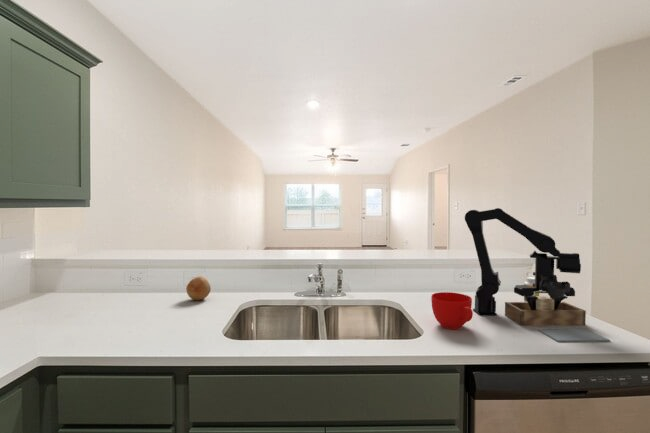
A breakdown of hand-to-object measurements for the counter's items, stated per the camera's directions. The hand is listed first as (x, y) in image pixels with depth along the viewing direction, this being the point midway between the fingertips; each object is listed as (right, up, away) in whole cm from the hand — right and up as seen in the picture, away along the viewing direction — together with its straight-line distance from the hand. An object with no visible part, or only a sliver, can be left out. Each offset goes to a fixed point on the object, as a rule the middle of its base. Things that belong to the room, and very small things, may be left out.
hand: (543, 314), depth 129 cm
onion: (-132, -1, +28) cm, 135 cm away
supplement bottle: (+9, -1, +23) cm, 25 cm away
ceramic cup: (-34, -3, -8) cm, 35 cm away
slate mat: (0, -3, -15) cm, 15 cm away
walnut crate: (0, -2, 0) cm, 2 cm away
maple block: (0, -2, 0) cm, 2 cm away
